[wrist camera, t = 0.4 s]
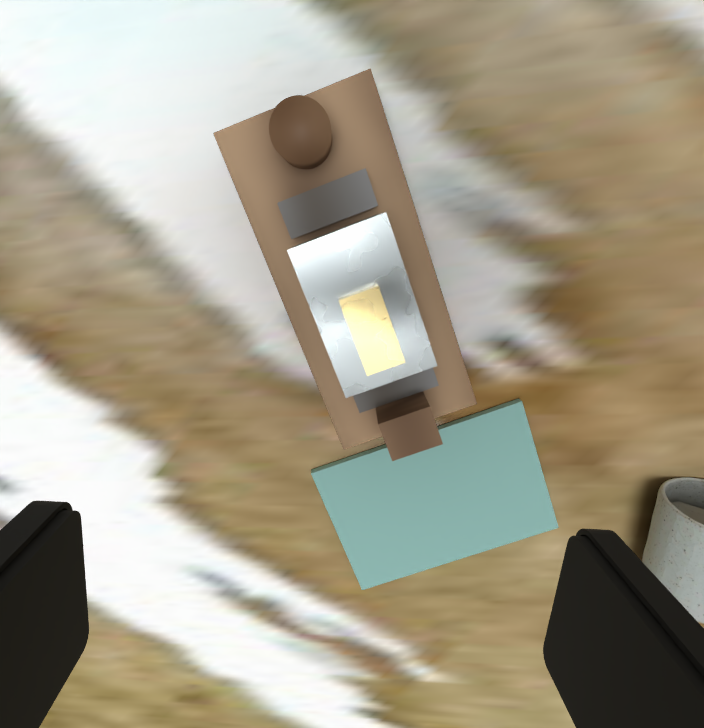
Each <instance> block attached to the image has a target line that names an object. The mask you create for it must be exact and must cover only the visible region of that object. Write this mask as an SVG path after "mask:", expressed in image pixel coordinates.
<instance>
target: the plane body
mask: <svg viewBox="0 0 704 728" xmlns="http://www.w3.org/2000/svg"><path fill="white" fill-rule="evenodd" d="M213 134H214V136H215V139H216V141H217V143H218V146H219V148H220V151H221V153H222V156H223V158H224V160H225V163H226V165H227V168H228V170H229V173H230V175H231V177H232V180H233V182H234V185H235V187H236V190H237V192H238V194H239V197H240V199H241V202H242V204H243V207H244V209H245V211H246V214H247V216H248V219H249V221H250V224H251V226H252V228H253V231H254V233H255V236H256V238H257V241H258V243H259V245H260V248H261V250H262V253H263V255H264V258H265V260H266V262H267V265H268V267H269V270H270V272H271V275H272V277H273V279H274V282H275V284H276V287H277V289H278V292H279V294H280V296H281V299H282V301H283V304H284V306H285V309H286V311H287V313H288V316H289V318H290V321H291V323H292V326H293V328H294V330H295V333H296V335H297V338H298V340H299V343H300V345H301V347H302V350H303V352H304V355H305V357H306V359H307V362H308V364H309V367H310V369H311V372H312V374H313V376H314V379H315V381H316V384H317V386H318V389H319V391H320V393H321V396H322V398H323V401H324V403H325V406H326V408H327V410H328V413H329V415H330V418H331V420H332V423H333V425H334V427H335V430H336V432H337V435H338V437H339V440H340V442H341V444H342V447H343V449H344V450H345V449H348V448H350V447H353V446H356V445H359V444H362V443H365V442H368V441H371V440H374V439H377V438H379V437H382V436H383V438H384V441H385V444H386V446H387V449H388V451H389V454H390V457H391V459H392V461H395V460H398V459H401V458H404V457H407V456H409V455H412V454H415V453H418V452H421V451H424V450H427V449H430V448H433V447H436V446H439V445H442V444H443V442H442V439H441V437H440V434H439V431H438V428H437V425H436V422H435V418H438V417H440V416H443V415H446V414H449V413H452V412H455V411H458V410H461V409H464V408H467V407H469V406H472V405H475V404H477V402H476V399H475V396H474V393H473V389H472V386H471V383H470V380H469V377H468V374H467V371H466V367H465V364H464V361H463V358H462V355H461V352H460V349H459V345H458V342H457V339H456V336H455V333H454V330H453V327H452V323H451V320H450V317H449V314H448V311H447V308H446V305H445V301H444V298H443V295H442V292H441V289H440V286H439V282H438V279H437V276H436V273H435V270H434V267H433V264H432V260H431V257H430V254H429V251H428V248H427V245H426V242H425V238H424V235H423V232H422V229H421V226H420V223H419V220H418V216H417V213H416V210H415V207H414V204H413V201H412V198H411V194H410V191H409V188H408V185H407V182H406V179H405V176H404V172H403V169H402V166H401V163H400V160H399V157H398V153H397V150H396V147H395V144H394V141H393V138H392V135H391V131H390V128H389V125H388V122H387V119H386V116H385V113H384V109H383V106H382V103H381V100H380V97H379V94H378V91H377V87H376V84H375V81H374V78H373V75H372V72H371V69H368V70H366V71H363V72H361V73H358V74H356V75H354V76H351V77H349V78H346V79H344V80H341V81H339V82H336V83H334V84H332V85H329V86H327V87H324V88H322V89H319V90H317V91H315V92H312V93H310V94H307V95H305V96H301V95H296V96H291V97H288V98H286V99H284V100H283V101H281V102H280V103H279V104H278V105H277V106H276V108H273V109H271V110H268V111H266V112H264V113H261V114H259V115H256V116H254V117H251V118H249V119H247V120H244V121H242V122H239V123H237V124H234V125H232V126H230V127H227V128H225V129H222V130H220V131H217V132H215V133H213ZM384 212H386V213H387V216H388V219H389V222H390V225H391V228H392V231H393V234H394V237H395V240H396V243H397V246H398V249H399V252H400V255H401V258H402V261H403V264H404V267H405V270H406V273H407V276H408V279H409V282H410V285H411V288H412V291H413V294H414V297H415V300H416V303H417V306H418V309H419V312H420V315H421V318H422V321H423V324H424V327H425V330H426V333H427V336H428V339H429V342H430V345H431V348H432V351H433V354H434V357H435V360H436V363H437V366H436V367H433V368H430V369H427V370H424V371H422V372H419V373H416V374H413V375H410V376H407V377H405V378H402V379H399V380H396V381H393V382H390V383H388V384H385V385H382V386H379V387H376V388H373V389H371V390H368V391H365V392H362V393H359V394H356V395H354V396H351V397H348V398H346V397H345V395H344V392H343V390H342V387H341V385H340V382H339V380H338V377H337V375H336V372H335V370H334V367H333V365H332V362H331V360H330V357H329V355H328V352H327V350H326V347H325V345H324V342H323V340H322V337H321V335H320V332H319V329H318V327H317V324H316V322H315V319H314V317H313V314H312V312H311V309H310V307H309V304H308V302H307V299H306V297H305V294H304V292H303V289H302V287H301V284H300V282H299V279H298V277H297V274H296V272H295V269H294V267H293V264H292V262H291V259H290V257H289V254H288V252H287V250H288V249H290V248H292V247H294V246H296V245H298V244H301V243H304V242H306V241H309V240H311V239H314V238H317V237H319V236H322V235H324V234H327V233H330V232H332V231H335V230H337V229H340V228H343V227H345V226H348V225H350V224H353V223H356V222H358V221H361V220H363V219H366V218H369V217H371V216H374V215H376V214H379V213H384Z"/></svg>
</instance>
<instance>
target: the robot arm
mask: <svg viewBox="0 0 704 728" xmlns="http://www.w3.org/2000/svg"><path fill="white" fill-rule="evenodd" d="M88 634H89V622H88V608H87V594H86V580H85V566H84V552H83V539H82V525H81V516H80V513H79V512H78V511H72V507H71V505H70V504H69V503H67V502H53V501H33V502H31V503H30V504H28V505H27V506H26V507H25V508H24V509H23V510H22V511H21V512H20V513H19V514H18V515H16V516H15V517H14V518H13V519H12V520H11V521H10V522H9V523H8V524H7V525H6V526H5V527H3V528H2V529H1V530H0V728H39V727H40V725H41V723H42V721H43V720H44V718H45V716H46V715H47V713H48V711H49V709H50V708H51V706H52V704H53V703H54V701H55V699H56V697H57V696H58V694H59V692H60V691H61V689H62V687H63V685H64V684H65V682H66V680H67V679H68V677H69V675H70V673H71V672H72V670H73V668H74V667H75V665H76V663H77V661H78V660H79V658H80V656H81V654H82V653H83V651H84V649H85V646H86V643H87V639H88ZM543 654H544V660H545V664H546V666H547V669H548V671H549V673H550V675H551V677H552V679H553V681H554V683H555V685H556V687H557V689H558V691H559V694H560V696H561V698H562V700H563V702H564V704H565V706H566V708H567V710H568V712H569V714H570V716H571V718H572V720H573V722H574V724H575V726H576V728H704V628H703V627H702V626H701V625H700V624H699V623H698V622H697V621H696V619H695V618H694V617H693V616H692V615H691V614H690V613H689V612H688V611H687V610H686V609H685V608H684V607H683V605H682V604H681V603H680V602H679V601H678V600H677V599H676V598H675V597H674V596H673V595H672V594H671V592H670V591H669V590H668V589H667V588H666V587H665V586H664V585H663V584H662V583H661V582H660V581H659V579H658V578H657V577H656V576H655V575H654V574H653V573H652V572H651V571H650V570H649V569H648V568H647V566H646V565H645V564H644V563H643V562H642V561H641V560H640V559H639V558H638V557H637V556H636V555H635V553H634V552H633V551H632V550H631V549H630V548H629V547H628V546H627V545H626V544H625V543H624V542H623V540H622V539H621V538H620V537H619V536H618V535H617V534H616V533H615V532H613V531H611V530H598V529H581V530H579V531H578V532H577V534H576V536H572V537H570V538H569V540H568V543H567V547H566V552H565V556H564V560H563V564H562V569H561V573H560V577H559V582H558V586H557V590H556V594H555V599H554V603H553V607H552V612H551V616H550V620H549V624H548V629H547V633H546V637H545V641H544V647H543Z"/></svg>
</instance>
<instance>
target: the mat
mask: <svg viewBox="0 0 704 728" xmlns="http://www.w3.org/2000/svg"><path fill="white" fill-rule="evenodd" d="M437 428H438V431H439V434H440V437H441V439H442V442H443V444H442V445H439V446H436V447H433V448H430V449H427V450H424V451H421V452H418V453H415V454H412V455H409V456H407V457H404V458H401V459H398V460H395V461H392V459H391V457H390V454H389V451H388V449H387V446H386V444H385V445H382V446H379V447H376V448H373V449H370V450H367V451H364V452H361V453H358V454H356V455H353V456H350V457H347V458H344V459H341V460H338V461H335V462H332V463H329V464H326V465H323V466H321V467H318V468H315V469H312V470H311V475H312V477H313V479H314V481H315V484H316V486H317V488H318V491H319V493H320V495H321V497H322V500H323V502H324V504H325V506H326V509H327V511H328V513H329V516H330V518H331V520H332V522H333V525H334V527H335V529H336V532H337V534H338V536H339V538H340V541H341V543H342V545H343V547H344V550H345V552H346V554H347V557H348V559H349V561H350V563H351V566H352V568H353V570H354V572H355V575H356V577H357V579H358V582H359V584H360V586H361V588H362V590H364V589H367V588H370V587H374V586H377V585H380V584H383V583H386V582H389V581H392V580H396V579H399V578H402V577H405V576H408V575H411V574H414V573H418V572H421V571H424V570H427V569H430V568H433V567H436V566H440V565H443V564H446V563H449V562H452V561H455V560H458V559H462V558H465V557H468V556H471V555H474V554H477V553H480V552H484V551H487V550H490V549H493V548H496V547H499V546H502V545H506V544H509V543H512V542H515V541H518V540H521V539H524V538H528V537H531V536H534V535H537V534H540V533H543V532H546V531H550V530H553V529H556V528H559V527H558V524H557V521H556V517H555V514H554V510H553V507H552V503H551V500H550V496H549V493H548V489H547V486H546V483H545V479H544V476H543V472H542V469H541V465H540V462H539V458H538V455H537V451H536V448H535V445H534V441H533V438H532V434H531V431H530V427H529V424H528V420H527V417H526V413H525V410H524V407H523V403H522V401H521V400H520V399H516V400H513V401H510V402H507V403H504V404H501V405H499V406H496V407H493V408H490V409H487V410H484V411H481V412H478V413H475V414H472V415H469V416H466V417H464V418H461V419H458V420H455V421H452V422H449V423H446V424H443V425H440V426H437Z"/></svg>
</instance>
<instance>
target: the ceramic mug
mask: <svg viewBox="0 0 704 728" xmlns="http://www.w3.org/2000/svg"><path fill="white" fill-rule="evenodd" d="M642 562H643V563H644V564H645V565H646V566H647V568H648V569H649V570H650V571H651V572H652V573H653V574H654V575H655V576H656V577H657V578H658V579H659V581H660V582H661V583H662V584H663V585H664V586H665V587H666V588H667V589H668V590H669V591H670V592H671V594H672V595H673V596H674V597H675V598H676V599H677V600H678V601H679V602H680V603H681V604H682V605H683V607H684V608H685V609H686V610H687V611H688V612H689V613H690V614H691V615H692V616H693V617H694V618H695V619H696V621H697V622H698V623H699V624H700V625H701V626H702V627H703V628H704V479H698V478H684V477H681V478H673V479H669V480H667V481H665V482H664V483H663V484H662V485H661V486H660V488H659V491H658V495H657V501H656V505H655V508H654V512H653V516H652V520H651V525H650V530H649V534H648V539H647V542H646V545H645V549H644V553H643V558H642Z"/></svg>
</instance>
